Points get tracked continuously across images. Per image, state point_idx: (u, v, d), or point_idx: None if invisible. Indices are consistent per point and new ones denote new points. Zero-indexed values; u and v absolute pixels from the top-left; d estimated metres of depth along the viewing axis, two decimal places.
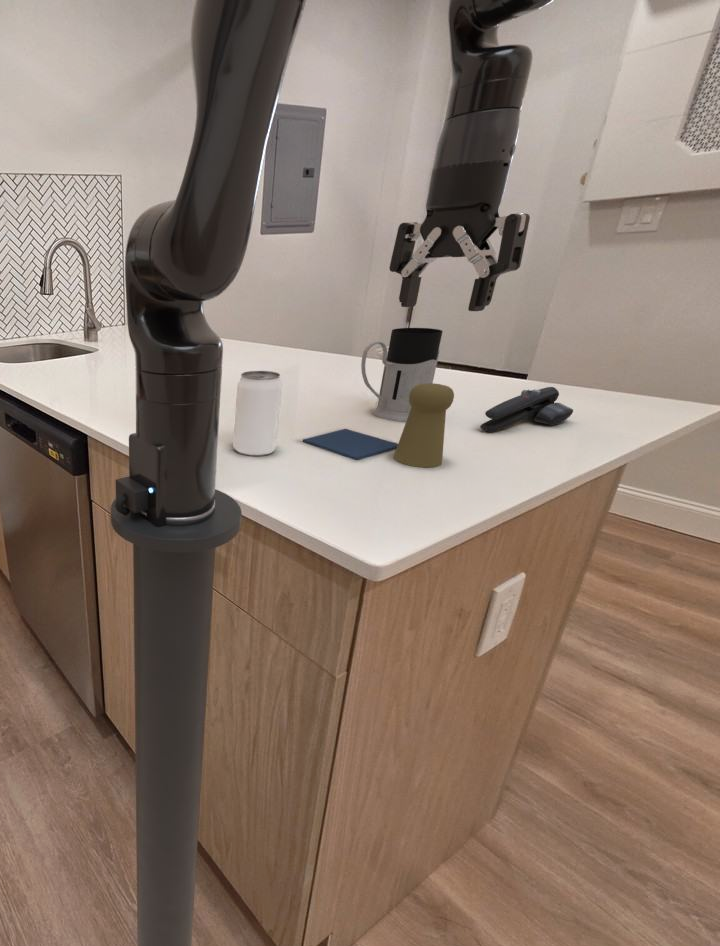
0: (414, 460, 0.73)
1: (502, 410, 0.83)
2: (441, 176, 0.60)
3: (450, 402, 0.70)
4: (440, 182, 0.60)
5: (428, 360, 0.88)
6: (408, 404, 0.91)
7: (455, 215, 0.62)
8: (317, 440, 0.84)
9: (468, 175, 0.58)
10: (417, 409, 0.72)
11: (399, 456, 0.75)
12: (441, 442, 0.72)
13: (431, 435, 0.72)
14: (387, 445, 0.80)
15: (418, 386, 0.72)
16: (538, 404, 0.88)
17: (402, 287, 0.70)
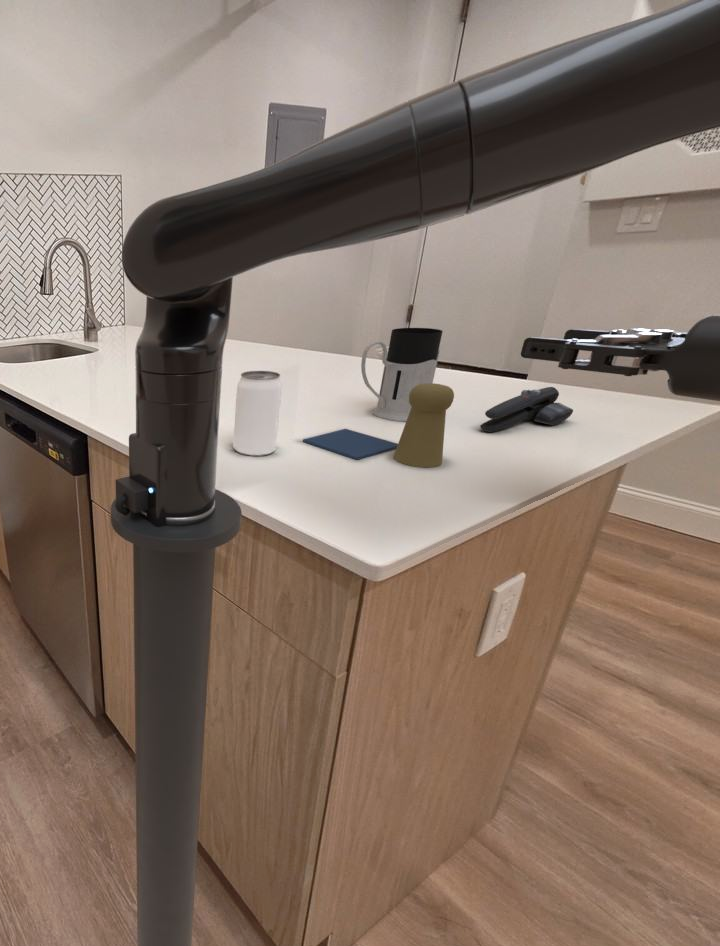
0: (414, 460, 0.73)
1: (502, 410, 0.83)
2: None
3: (450, 402, 0.70)
4: None
5: (428, 360, 0.88)
6: (408, 404, 0.91)
7: (681, 343, 0.50)
8: (317, 440, 0.84)
9: None
10: (417, 409, 0.72)
11: (399, 456, 0.75)
12: (441, 442, 0.72)
13: (431, 435, 0.72)
14: (387, 445, 0.80)
15: (418, 386, 0.72)
16: (538, 404, 0.88)
17: None
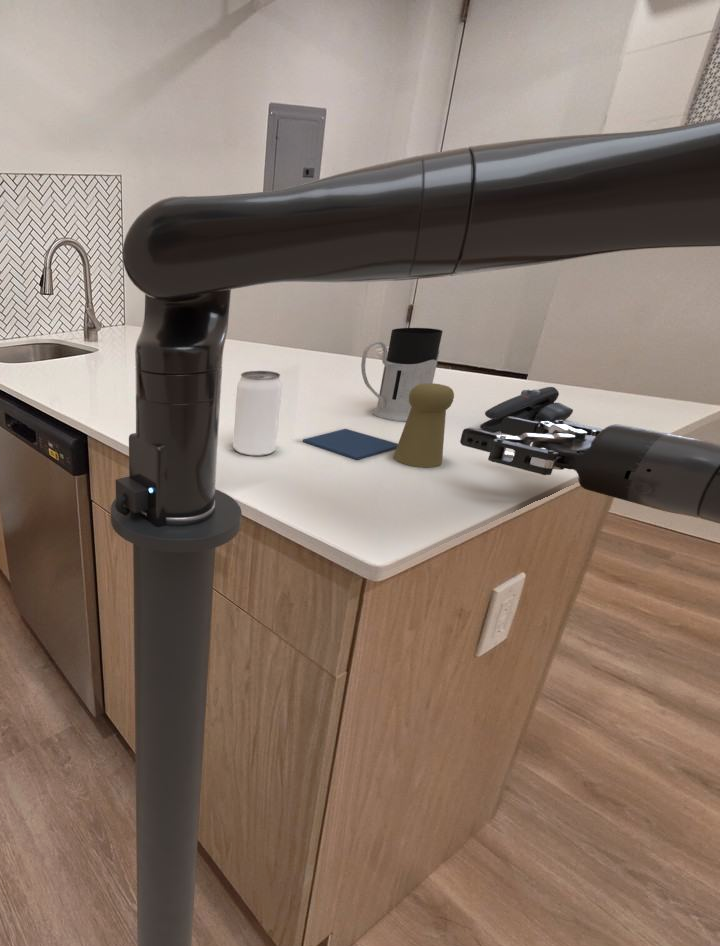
0: (414, 460, 0.73)
1: (501, 410, 0.83)
2: (655, 431, 0.53)
3: (450, 402, 0.70)
4: None
5: (428, 360, 0.88)
6: (408, 404, 0.91)
7: (591, 445, 0.57)
8: (317, 440, 0.84)
9: (637, 438, 0.53)
10: (417, 409, 0.72)
11: (399, 456, 0.75)
12: (441, 442, 0.72)
13: (431, 435, 0.72)
14: (387, 445, 0.80)
15: (418, 386, 0.72)
16: (538, 404, 0.88)
17: None
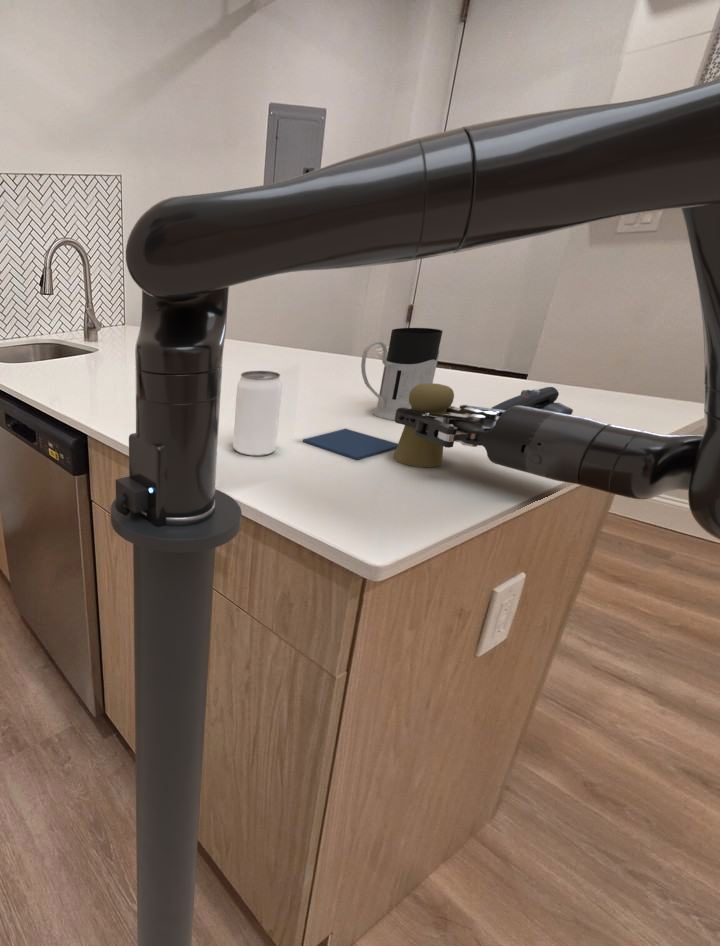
0: (414, 460, 0.73)
1: None
2: None
3: (450, 402, 0.70)
4: None
5: (428, 360, 0.88)
6: (408, 404, 0.91)
7: None
8: (317, 440, 0.84)
9: (531, 417, 0.60)
10: (417, 409, 0.72)
11: (399, 456, 0.75)
12: None
13: None
14: (387, 445, 0.80)
15: (418, 386, 0.72)
16: (538, 404, 0.88)
17: None
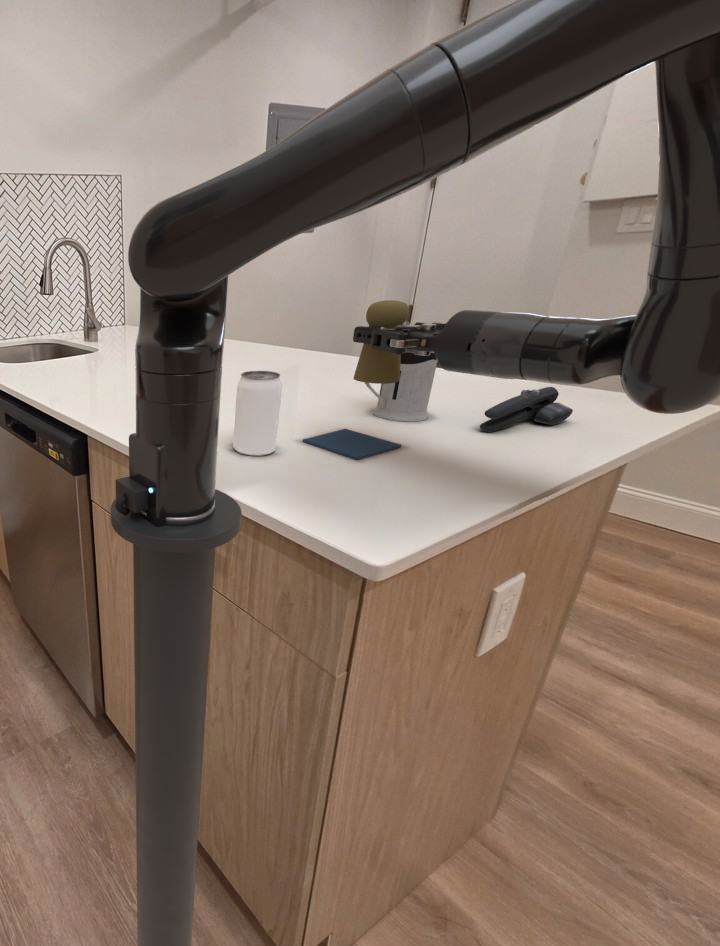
0: (372, 377, 0.74)
1: (501, 410, 0.83)
2: None
3: (405, 316, 0.71)
4: None
5: (428, 360, 0.88)
6: (408, 404, 0.91)
7: None
8: (317, 440, 0.84)
9: (477, 316, 0.62)
10: (373, 326, 0.73)
11: (358, 375, 0.76)
12: (397, 358, 0.74)
13: None
14: (387, 445, 0.80)
15: (374, 303, 0.73)
16: (538, 404, 0.88)
17: None
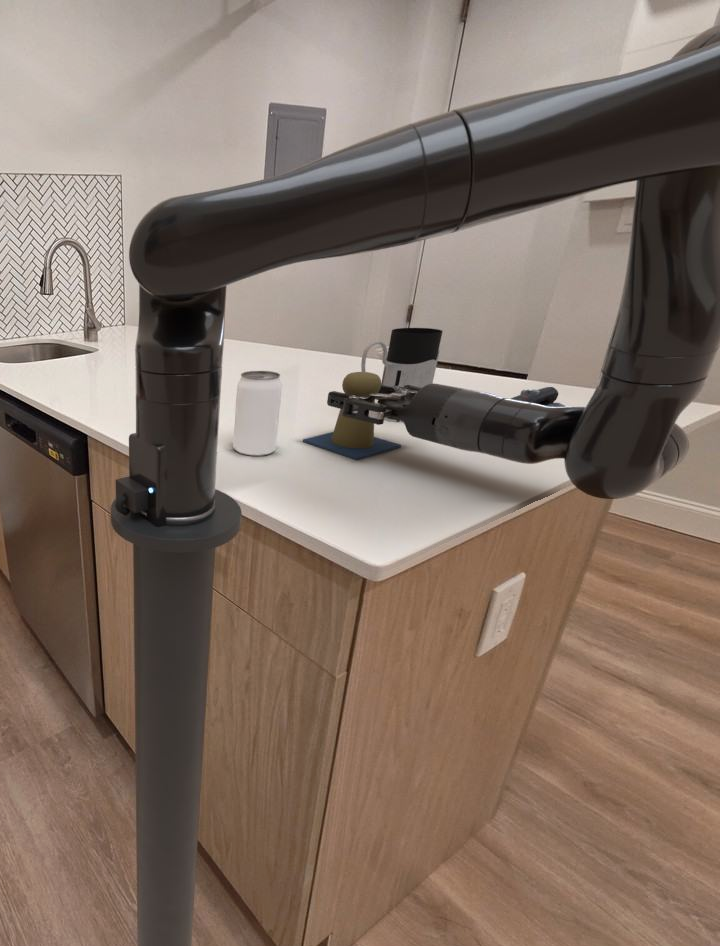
0: (347, 442, 0.80)
1: None
2: (457, 387, 0.68)
3: (377, 388, 0.77)
4: None
5: (428, 360, 0.88)
6: None
7: None
8: (317, 440, 0.84)
9: (441, 393, 0.67)
10: None
11: (335, 439, 0.82)
12: (371, 425, 0.79)
13: None
14: (387, 445, 0.80)
15: (349, 374, 0.79)
16: None
17: None
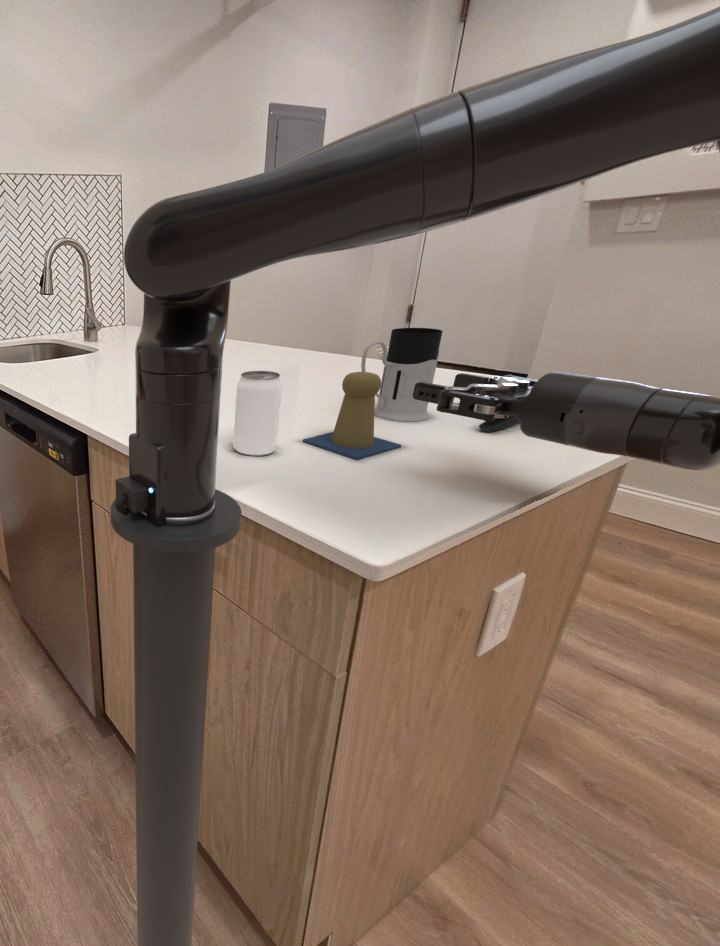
0: (347, 442, 0.80)
1: None
2: None
3: (377, 388, 0.77)
4: (582, 375, 0.56)
5: (428, 360, 0.88)
6: (408, 404, 0.91)
7: None
8: (317, 440, 0.84)
9: (571, 382, 0.55)
10: (349, 395, 0.79)
11: (335, 439, 0.82)
12: (371, 425, 0.79)
13: (361, 419, 0.78)
14: (387, 445, 0.80)
15: (349, 374, 0.79)
16: None
17: None
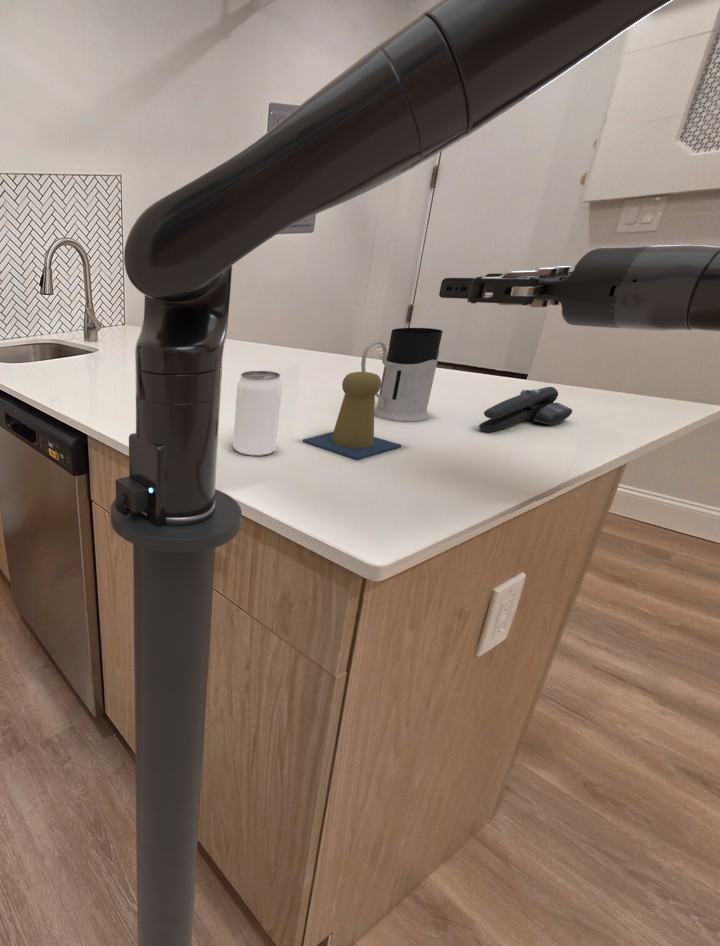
0: (347, 442, 0.80)
1: (500, 410, 0.83)
2: None
3: (377, 388, 0.77)
4: None
5: (428, 360, 0.88)
6: (408, 404, 0.91)
7: None
8: (317, 440, 0.84)
9: (622, 252, 0.49)
10: (349, 395, 0.79)
11: (335, 439, 0.82)
12: (371, 425, 0.79)
13: (361, 419, 0.78)
14: (387, 445, 0.80)
15: (349, 374, 0.79)
16: (537, 404, 0.88)
17: None
